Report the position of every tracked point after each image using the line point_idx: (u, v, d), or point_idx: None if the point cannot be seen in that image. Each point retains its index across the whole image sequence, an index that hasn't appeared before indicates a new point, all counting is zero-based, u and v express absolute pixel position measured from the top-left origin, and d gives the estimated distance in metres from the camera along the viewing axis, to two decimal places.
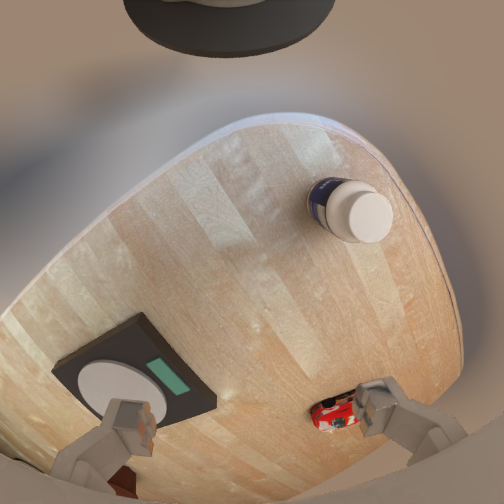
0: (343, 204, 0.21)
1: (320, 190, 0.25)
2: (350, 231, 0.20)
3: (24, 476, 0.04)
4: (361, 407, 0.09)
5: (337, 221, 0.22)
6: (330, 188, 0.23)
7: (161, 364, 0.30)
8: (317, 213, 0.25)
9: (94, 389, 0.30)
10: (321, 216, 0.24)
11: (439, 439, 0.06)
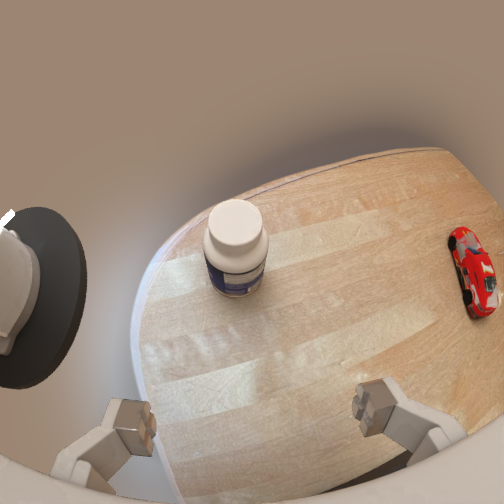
0: (220, 250, 0.21)
1: (213, 277, 0.25)
2: (244, 245, 0.20)
3: (24, 476, 0.04)
4: (361, 407, 0.09)
5: (237, 260, 0.21)
6: (208, 263, 0.23)
7: None
8: (235, 284, 0.24)
9: None
10: (236, 280, 0.23)
11: (439, 439, 0.06)
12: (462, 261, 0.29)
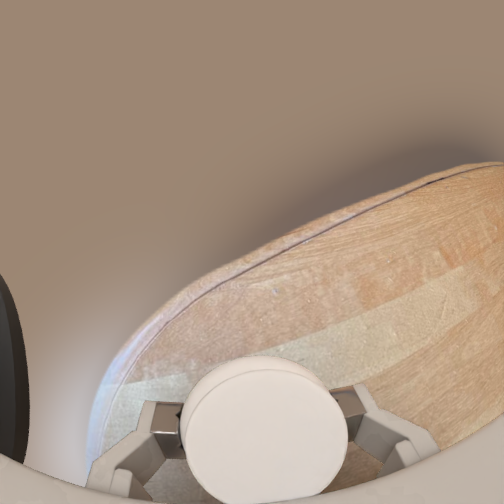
0: None
1: None
2: None
3: (24, 476, 0.04)
4: None
5: None
6: None
7: None
8: None
9: None
10: None
11: (407, 454, 0.06)
12: None
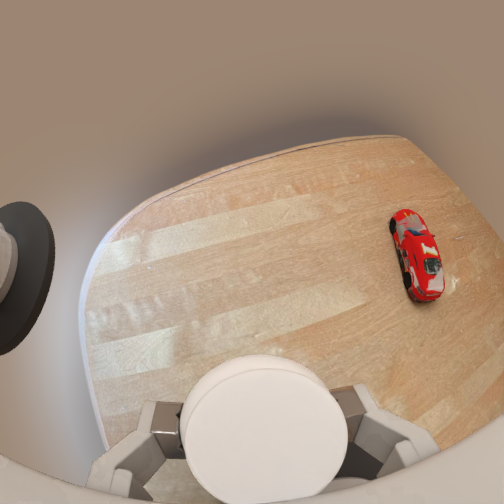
0: None
1: None
2: None
3: (24, 476, 0.04)
4: None
5: None
6: None
7: None
8: None
9: None
10: None
11: (407, 454, 0.06)
12: (402, 243, 0.32)
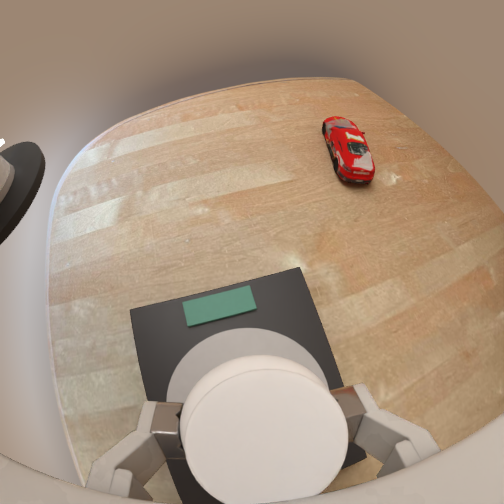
0: None
1: None
2: None
3: (24, 476, 0.04)
4: None
5: None
6: None
7: (193, 304, 0.23)
8: None
9: None
10: None
11: (407, 454, 0.06)
12: (329, 137, 0.36)
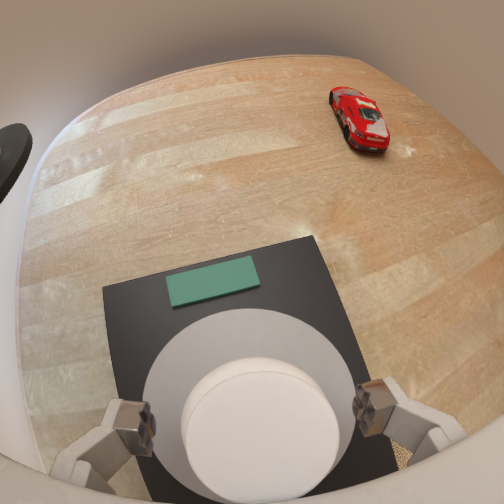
0: None
1: None
2: None
3: (24, 476, 0.04)
4: (361, 407, 0.09)
5: None
6: None
7: (179, 278, 0.18)
8: None
9: None
10: None
11: (439, 439, 0.06)
12: (338, 105, 0.31)
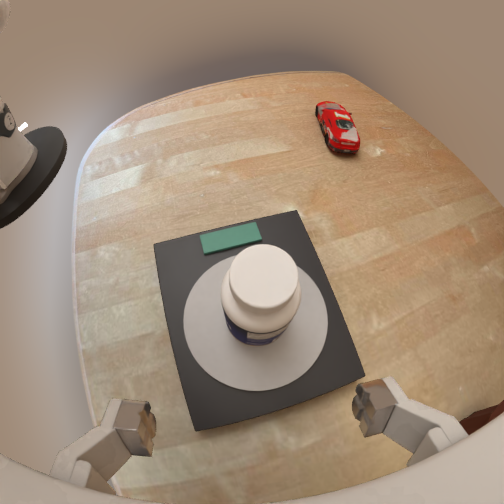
0: (244, 308, 0.17)
1: (232, 330, 0.21)
2: (276, 307, 0.15)
3: (24, 476, 0.04)
4: (361, 407, 0.09)
5: (265, 320, 0.17)
6: (227, 318, 0.19)
7: (209, 236, 0.29)
8: (259, 339, 0.20)
9: (232, 354, 0.23)
10: (261, 336, 0.19)
11: (439, 439, 0.06)
12: (321, 117, 0.41)
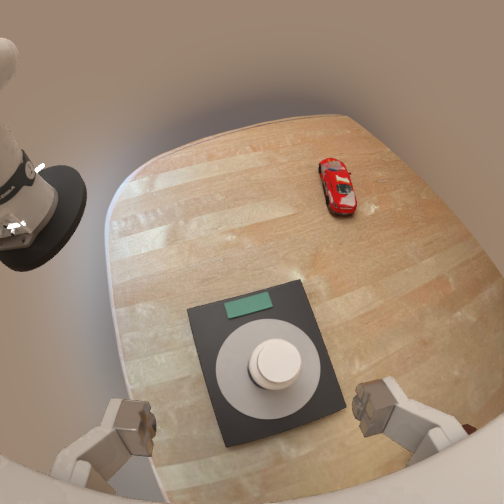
0: None
1: None
2: (287, 381, 0.23)
3: (24, 476, 0.04)
4: (361, 407, 0.09)
5: (279, 384, 0.25)
6: (252, 379, 0.27)
7: (231, 304, 0.37)
8: None
9: (252, 394, 0.31)
10: None
11: (439, 439, 0.06)
12: (324, 178, 0.49)
